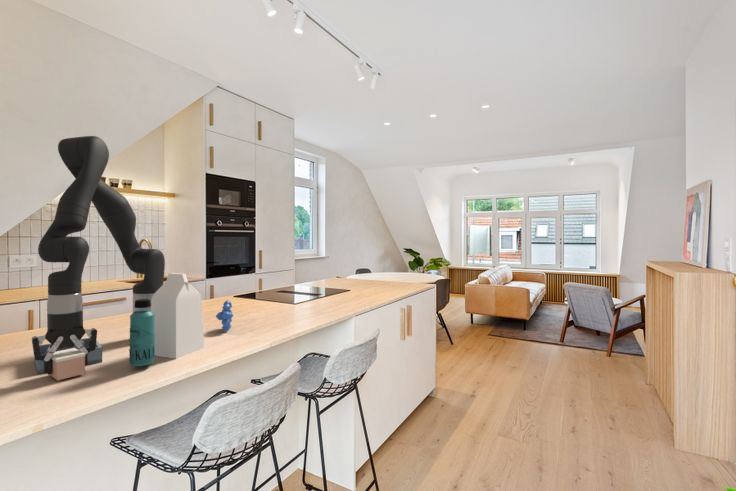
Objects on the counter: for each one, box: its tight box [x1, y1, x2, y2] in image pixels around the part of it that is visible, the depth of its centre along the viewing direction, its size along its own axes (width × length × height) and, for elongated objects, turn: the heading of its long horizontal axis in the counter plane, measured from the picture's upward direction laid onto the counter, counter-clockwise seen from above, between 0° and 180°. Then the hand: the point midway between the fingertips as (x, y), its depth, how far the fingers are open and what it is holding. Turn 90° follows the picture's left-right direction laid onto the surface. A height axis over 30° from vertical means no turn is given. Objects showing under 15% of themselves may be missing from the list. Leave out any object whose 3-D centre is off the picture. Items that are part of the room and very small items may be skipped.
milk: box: [151, 272, 205, 360], centre depth 122 cm, size 12×12×26 cm
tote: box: [34, 337, 103, 375], centre depth 112 cm, size 15×15×4 cm
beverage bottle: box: [128, 299, 156, 367], centre depth 107 cm, size 6×7×20 cm
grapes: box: [215, 300, 234, 332], centre depth 150 cm, size 12×7×12 cm, turn 15°
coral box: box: [49, 348, 86, 381], centre depth 101 cm, size 6×8×6 cm
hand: (66, 370), depth 101 cm, fingers closed on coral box, 6 cm apart
